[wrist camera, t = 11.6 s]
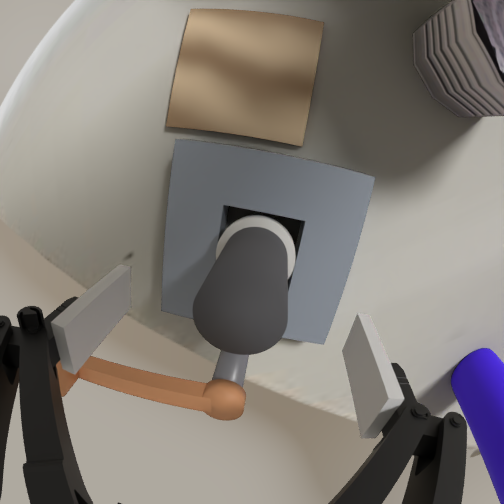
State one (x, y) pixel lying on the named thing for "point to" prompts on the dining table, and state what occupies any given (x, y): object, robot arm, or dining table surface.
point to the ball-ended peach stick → (161, 388)
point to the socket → (268, 201)
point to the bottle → (484, 408)
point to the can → (464, 57)
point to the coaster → (246, 74)
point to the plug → (247, 287)
